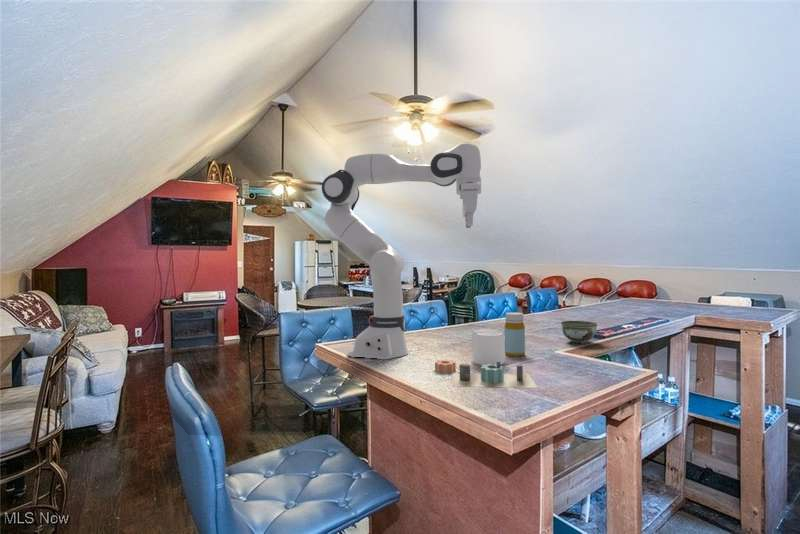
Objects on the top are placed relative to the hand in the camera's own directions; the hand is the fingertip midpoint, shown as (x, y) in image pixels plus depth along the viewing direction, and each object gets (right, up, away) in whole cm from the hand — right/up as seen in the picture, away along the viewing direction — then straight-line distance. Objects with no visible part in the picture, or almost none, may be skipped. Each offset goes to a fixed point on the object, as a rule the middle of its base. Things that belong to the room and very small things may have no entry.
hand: (469, 227), depth 141 cm
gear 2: (+1, -46, -32) cm, 56 cm away
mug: (+4, -47, -12) cm, 49 cm away
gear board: (+1, -47, -32) cm, 57 cm away
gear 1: (-11, -47, -22) cm, 53 cm away
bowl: (+48, -46, +17) cm, 68 cm away
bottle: (+17, -47, 0) cm, 49 cm away
